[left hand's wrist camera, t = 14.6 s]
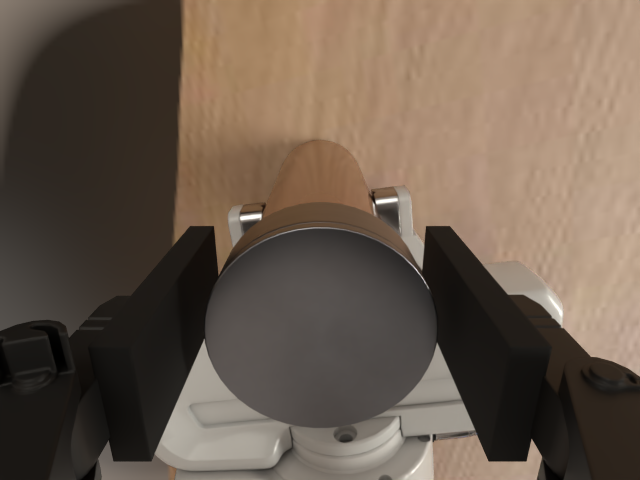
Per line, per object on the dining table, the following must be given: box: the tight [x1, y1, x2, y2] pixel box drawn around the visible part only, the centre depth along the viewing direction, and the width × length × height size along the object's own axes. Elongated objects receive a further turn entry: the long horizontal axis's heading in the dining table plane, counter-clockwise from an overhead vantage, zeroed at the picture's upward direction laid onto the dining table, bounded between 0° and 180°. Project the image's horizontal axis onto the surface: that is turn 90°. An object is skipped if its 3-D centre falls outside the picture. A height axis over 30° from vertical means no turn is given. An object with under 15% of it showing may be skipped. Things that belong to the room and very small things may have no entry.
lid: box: [204, 202, 438, 428], centre depth 11 cm, size 6×6×2 cm
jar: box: [260, 140, 381, 220], centre depth 18 cm, size 5×5×16 cm
